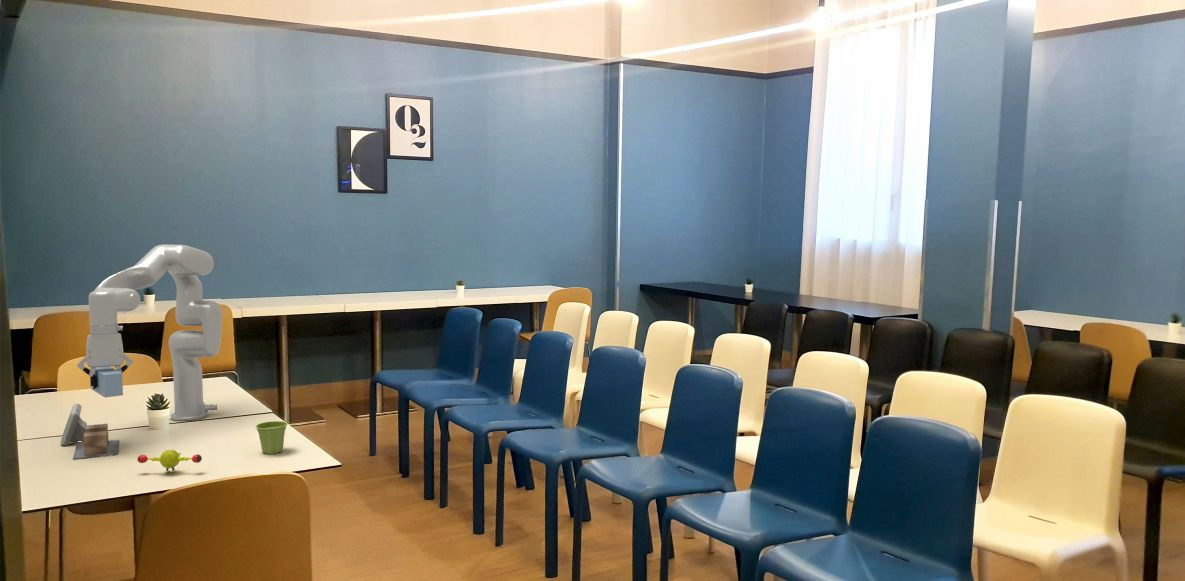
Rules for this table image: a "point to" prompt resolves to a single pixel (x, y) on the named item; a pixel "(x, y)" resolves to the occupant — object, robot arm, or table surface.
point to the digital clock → (74, 427)
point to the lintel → (108, 382)
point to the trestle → (96, 443)
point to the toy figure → (169, 459)
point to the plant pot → (271, 436)
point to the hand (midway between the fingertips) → (106, 386)
